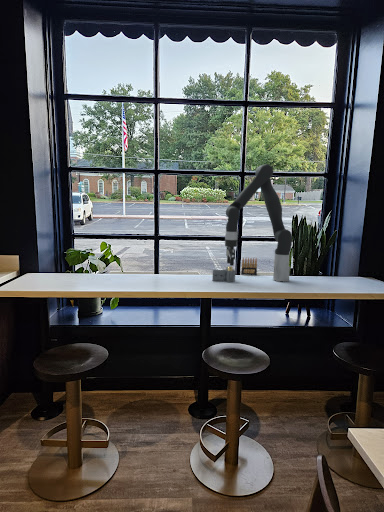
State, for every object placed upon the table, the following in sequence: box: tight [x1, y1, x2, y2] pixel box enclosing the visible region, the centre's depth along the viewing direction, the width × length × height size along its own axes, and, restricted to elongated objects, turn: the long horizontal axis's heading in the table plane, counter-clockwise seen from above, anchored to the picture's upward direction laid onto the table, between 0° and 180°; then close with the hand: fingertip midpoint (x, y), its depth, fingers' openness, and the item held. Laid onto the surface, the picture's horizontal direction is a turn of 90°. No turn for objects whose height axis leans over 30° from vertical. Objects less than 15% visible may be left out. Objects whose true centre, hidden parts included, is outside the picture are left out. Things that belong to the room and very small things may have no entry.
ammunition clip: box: [240, 257, 258, 276], centre depth 241 cm, size 11×2×12 cm, turn 89°
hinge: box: [212, 266, 236, 283], centre depth 224 cm, size 14×14×7 cm
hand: (230, 264), depth 220 cm, fingers open, 8 cm apart
